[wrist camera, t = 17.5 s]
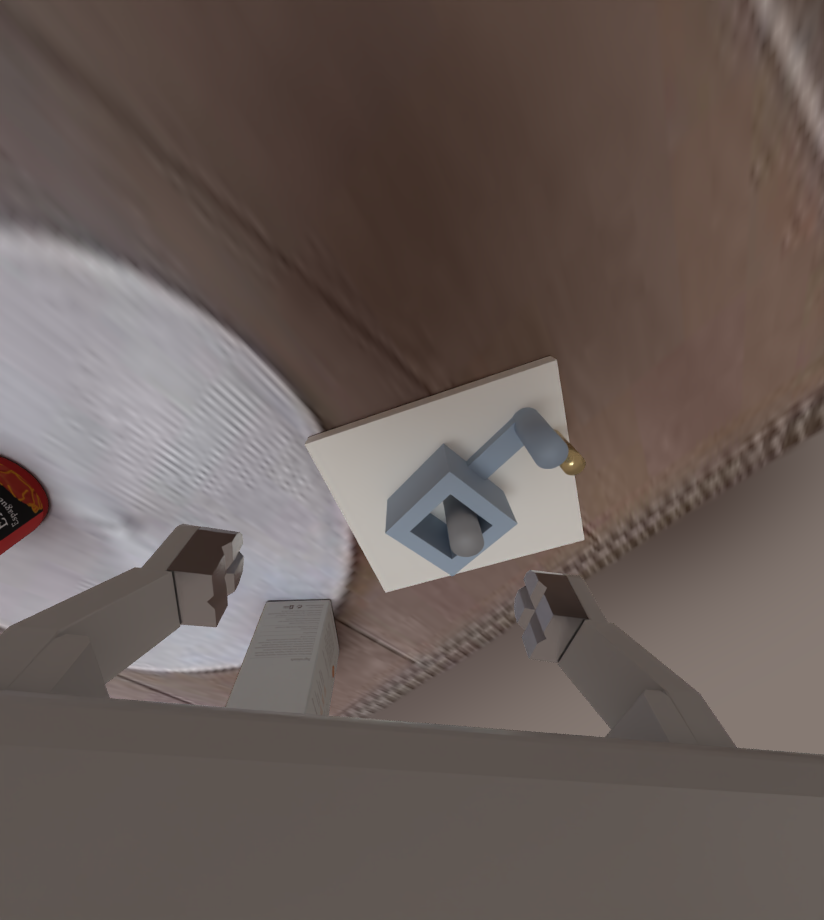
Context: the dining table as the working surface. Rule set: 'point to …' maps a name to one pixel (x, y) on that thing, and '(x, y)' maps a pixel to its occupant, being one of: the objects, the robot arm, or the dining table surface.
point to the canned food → (19, 504)
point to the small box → (289, 660)
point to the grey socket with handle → (468, 489)
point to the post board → (464, 431)
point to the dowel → (572, 459)
